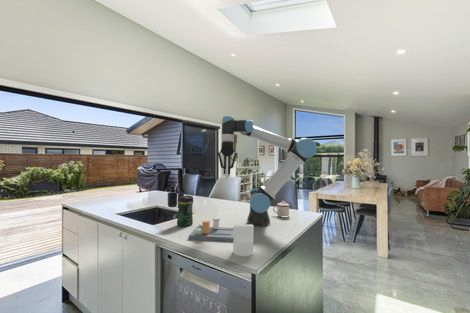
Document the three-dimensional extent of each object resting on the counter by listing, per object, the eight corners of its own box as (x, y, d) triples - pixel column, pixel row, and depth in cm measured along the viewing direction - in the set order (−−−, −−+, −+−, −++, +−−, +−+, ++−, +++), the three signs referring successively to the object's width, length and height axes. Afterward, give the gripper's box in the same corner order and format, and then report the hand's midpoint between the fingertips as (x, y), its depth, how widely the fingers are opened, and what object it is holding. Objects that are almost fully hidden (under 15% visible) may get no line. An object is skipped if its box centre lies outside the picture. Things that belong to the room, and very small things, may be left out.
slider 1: (209, 231, 128) (209, 221, 128) (208, 233, 125) (208, 222, 125) (203, 231, 128) (203, 220, 128) (201, 233, 125) (202, 222, 125)
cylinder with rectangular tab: (234, 256, 102) (235, 228, 102) (231, 249, 111) (232, 223, 111) (255, 255, 103) (255, 227, 104) (250, 248, 112) (250, 222, 112)
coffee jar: (184, 227, 143) (185, 197, 144) (174, 225, 147) (175, 195, 148) (194, 224, 152) (195, 195, 152) (185, 222, 156) (186, 194, 156)
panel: (237, 231, 138) (238, 223, 138) (234, 241, 120) (235, 233, 120) (197, 229, 141) (197, 222, 141) (188, 239, 123) (188, 230, 123)
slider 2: (219, 227, 137) (219, 217, 137) (218, 229, 133) (218, 218, 133) (213, 227, 137) (214, 217, 137) (212, 229, 134) (212, 218, 134)
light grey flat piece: (209, 225, 140) (210, 223, 140) (207, 228, 133) (207, 226, 133) (201, 223, 140) (201, 221, 140) (198, 226, 133) (198, 224, 133)
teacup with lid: (289, 215, 182) (289, 200, 182) (288, 218, 173) (289, 202, 174) (273, 214, 185) (273, 199, 186) (272, 217, 177) (272, 201, 177)
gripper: (238, 142, 150) (237, 179, 150) (218, 141, 151) (217, 178, 151) (237, 141, 143) (236, 180, 142) (216, 140, 144) (215, 179, 144)
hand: (226, 179), depth 147 cm, fingers closed
